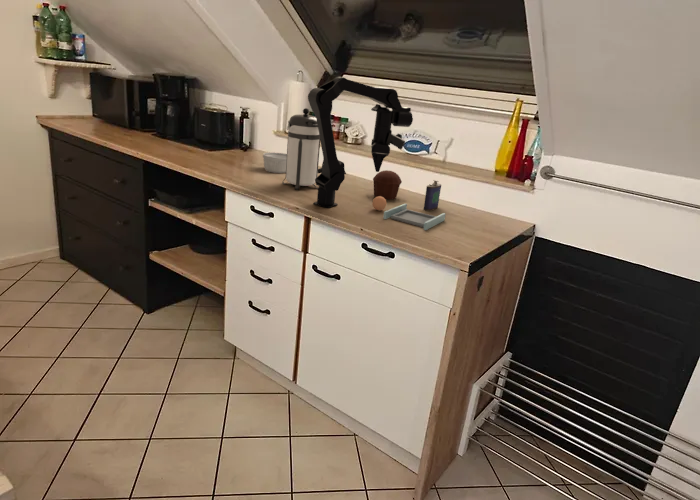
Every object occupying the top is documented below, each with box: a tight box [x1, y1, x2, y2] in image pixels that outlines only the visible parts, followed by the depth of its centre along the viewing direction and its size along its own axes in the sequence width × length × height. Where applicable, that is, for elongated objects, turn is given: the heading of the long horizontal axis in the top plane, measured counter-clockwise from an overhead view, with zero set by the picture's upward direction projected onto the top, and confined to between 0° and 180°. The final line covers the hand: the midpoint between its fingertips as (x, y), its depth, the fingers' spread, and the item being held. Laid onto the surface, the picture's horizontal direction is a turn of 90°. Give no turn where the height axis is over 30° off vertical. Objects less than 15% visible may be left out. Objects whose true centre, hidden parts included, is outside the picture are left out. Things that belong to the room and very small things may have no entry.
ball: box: [371, 196, 387, 211], centre depth 174 cm, size 5×5×5 cm
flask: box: [423, 179, 442, 212], centre depth 183 cm, size 9×3×11 cm, turn 144°
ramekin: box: [262, 151, 287, 174], centre depth 218 cm, size 13×13×7 cm
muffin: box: [372, 169, 402, 200], centre depth 193 cm, size 12×11×10 cm
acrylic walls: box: [382, 203, 447, 231], centre depth 168 cm, size 16×16×2 cm
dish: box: [390, 208, 437, 228], centre depth 168 cm, size 12×12×1 cm
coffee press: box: [282, 107, 322, 191], centre depth 192 cm, size 17×16×30 cm
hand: (377, 169), depth 178 cm, fingers open, 9 cm apart
